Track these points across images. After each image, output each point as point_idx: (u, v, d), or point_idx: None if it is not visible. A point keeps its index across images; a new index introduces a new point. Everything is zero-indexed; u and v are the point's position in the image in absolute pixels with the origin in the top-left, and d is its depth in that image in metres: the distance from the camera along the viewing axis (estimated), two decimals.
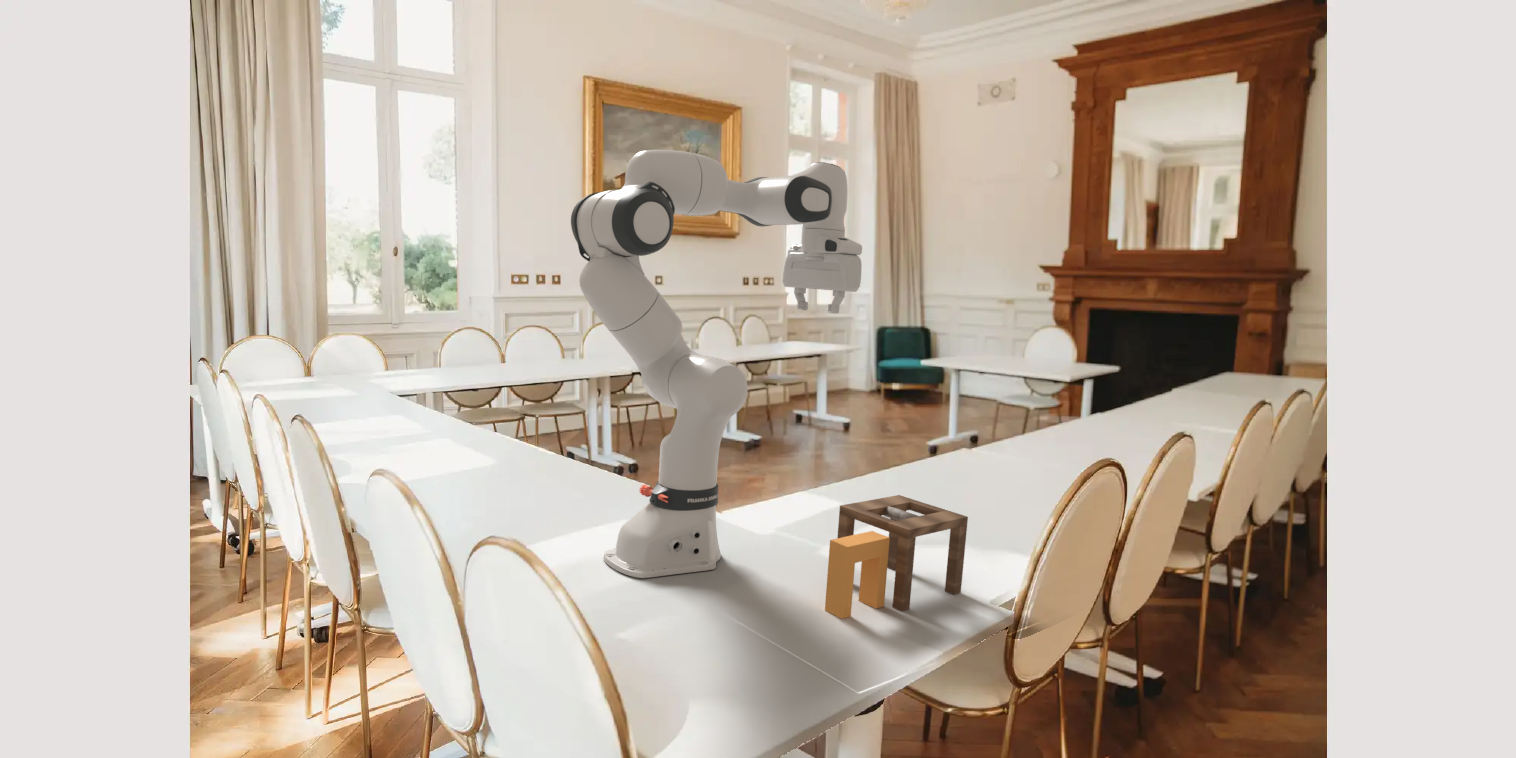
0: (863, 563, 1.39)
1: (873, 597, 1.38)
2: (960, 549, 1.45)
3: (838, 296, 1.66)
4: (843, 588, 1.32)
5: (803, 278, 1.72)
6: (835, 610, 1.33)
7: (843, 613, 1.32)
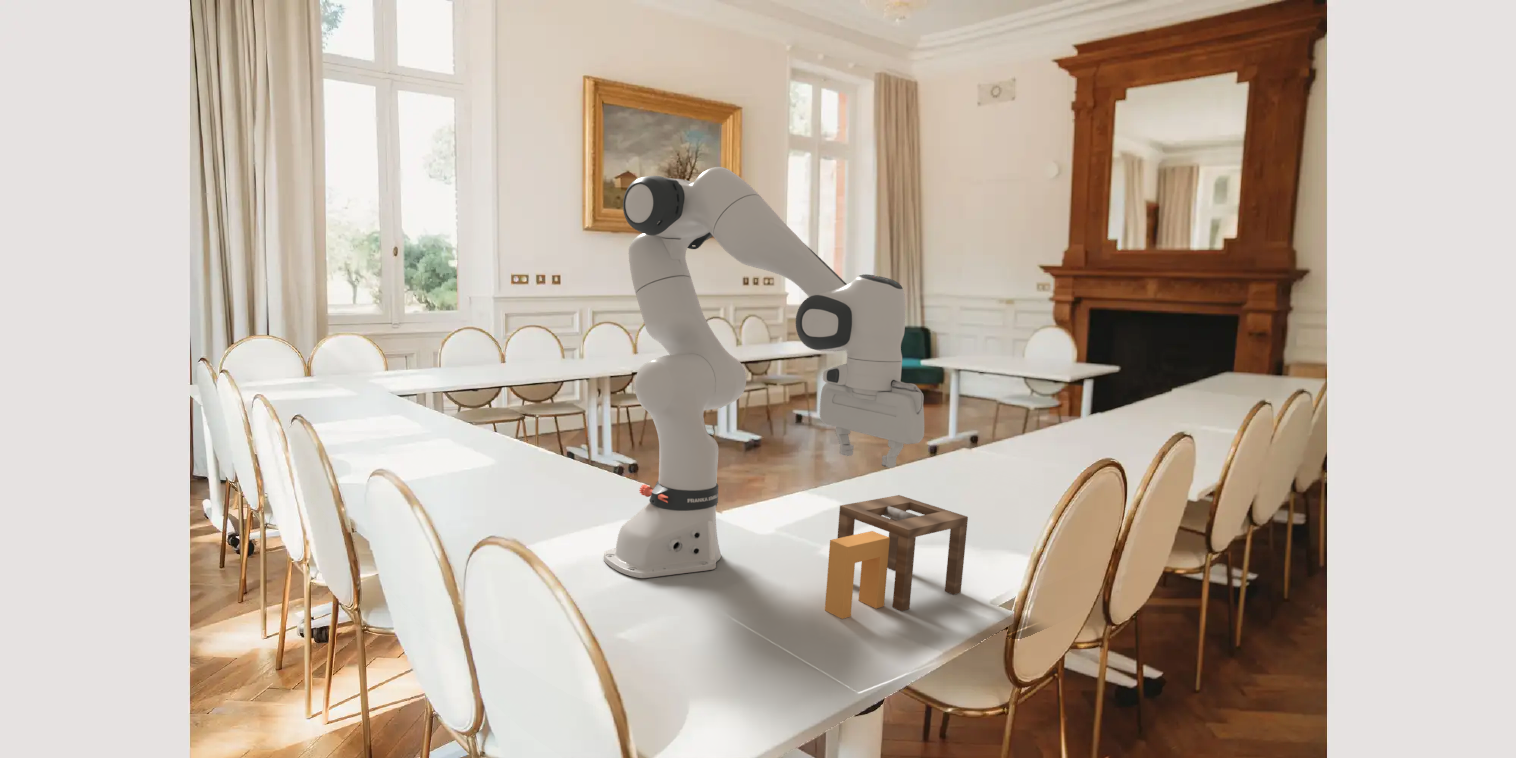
0: (863, 563, 1.39)
1: (873, 597, 1.38)
2: (960, 549, 1.45)
3: None
4: (843, 588, 1.32)
5: None
6: (835, 610, 1.33)
7: (843, 613, 1.32)
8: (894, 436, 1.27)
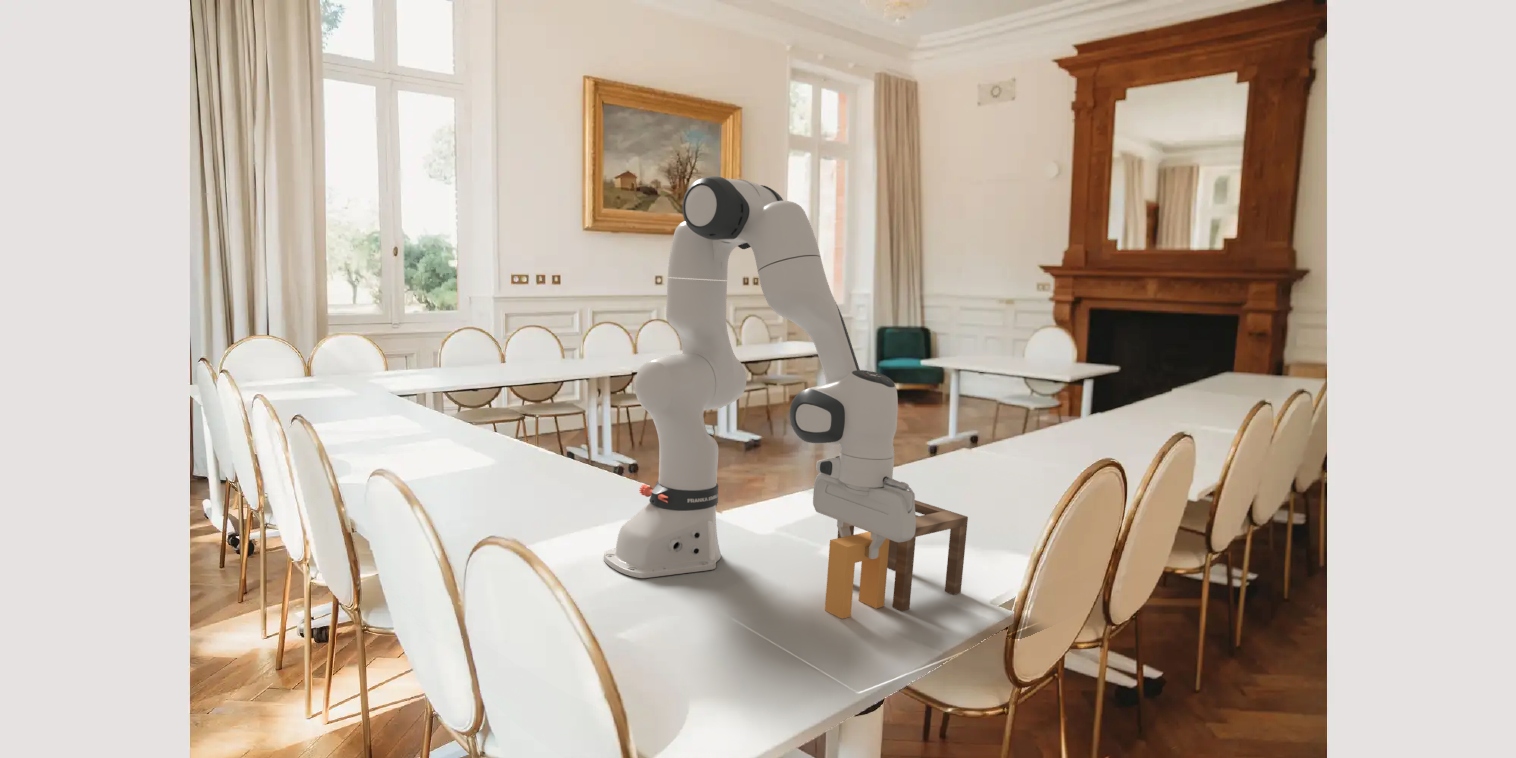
0: (863, 563, 1.39)
1: (873, 596, 1.38)
2: (960, 549, 1.45)
3: None
4: (843, 588, 1.32)
5: None
6: (835, 610, 1.33)
7: (843, 613, 1.32)
8: (886, 533, 1.29)
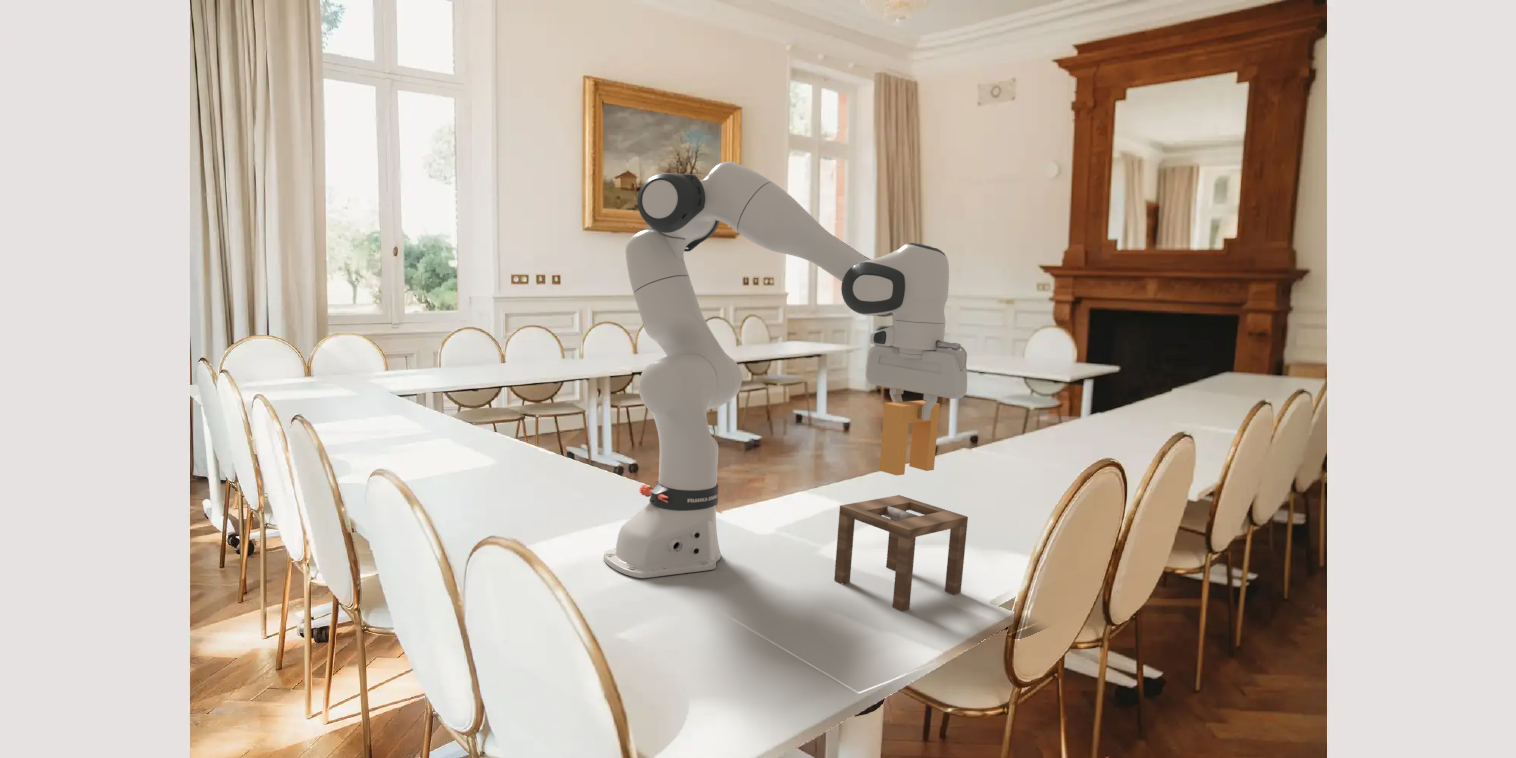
0: (914, 430, 1.48)
1: (924, 460, 1.46)
2: (960, 549, 1.45)
3: None
4: (898, 446, 1.40)
5: None
6: (890, 468, 1.42)
7: (897, 470, 1.41)
8: (939, 391, 1.37)
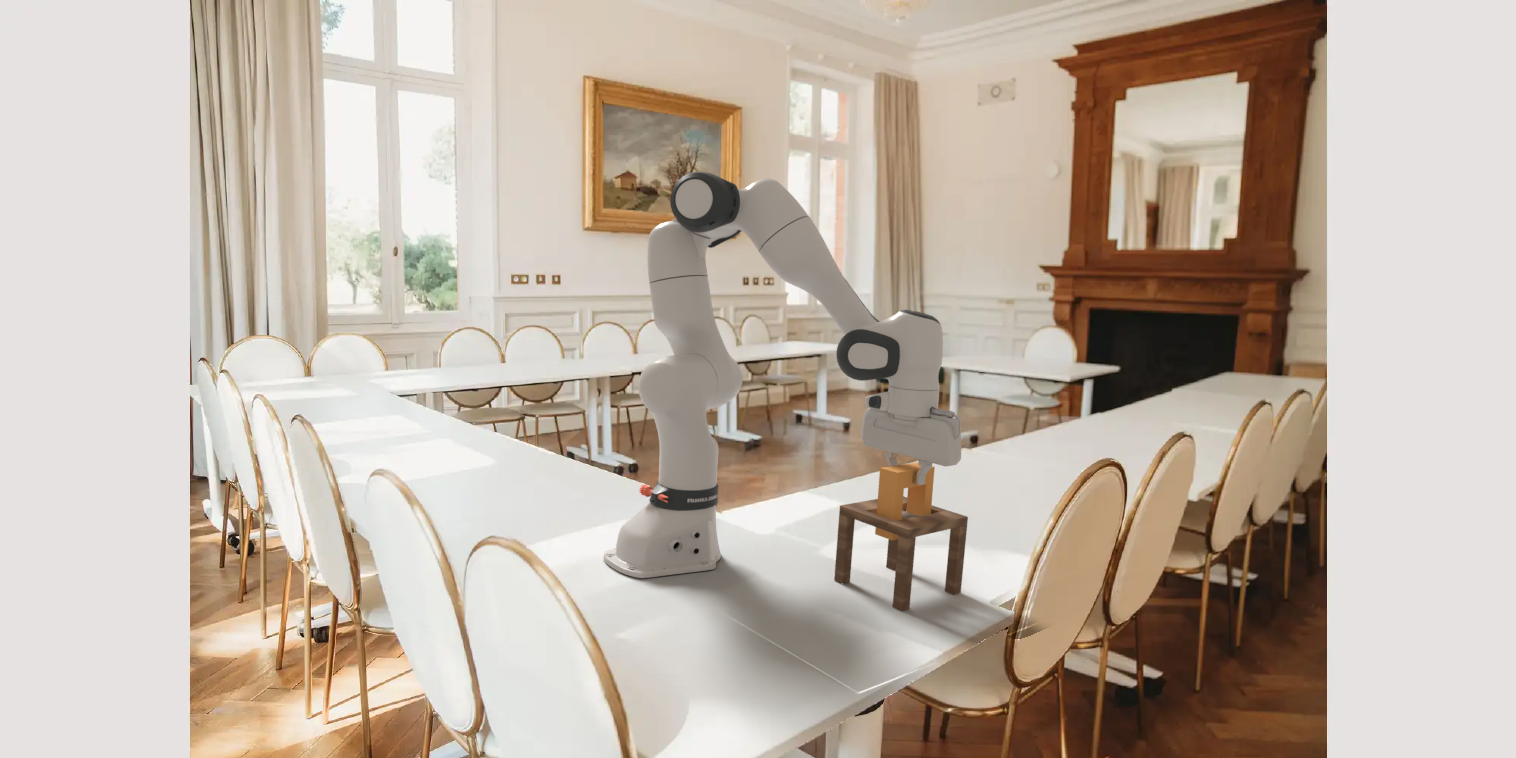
0: (909, 492, 1.49)
1: None
2: (960, 549, 1.45)
3: None
4: (893, 511, 1.42)
5: None
6: (885, 533, 1.43)
7: (893, 535, 1.42)
8: (933, 459, 1.39)
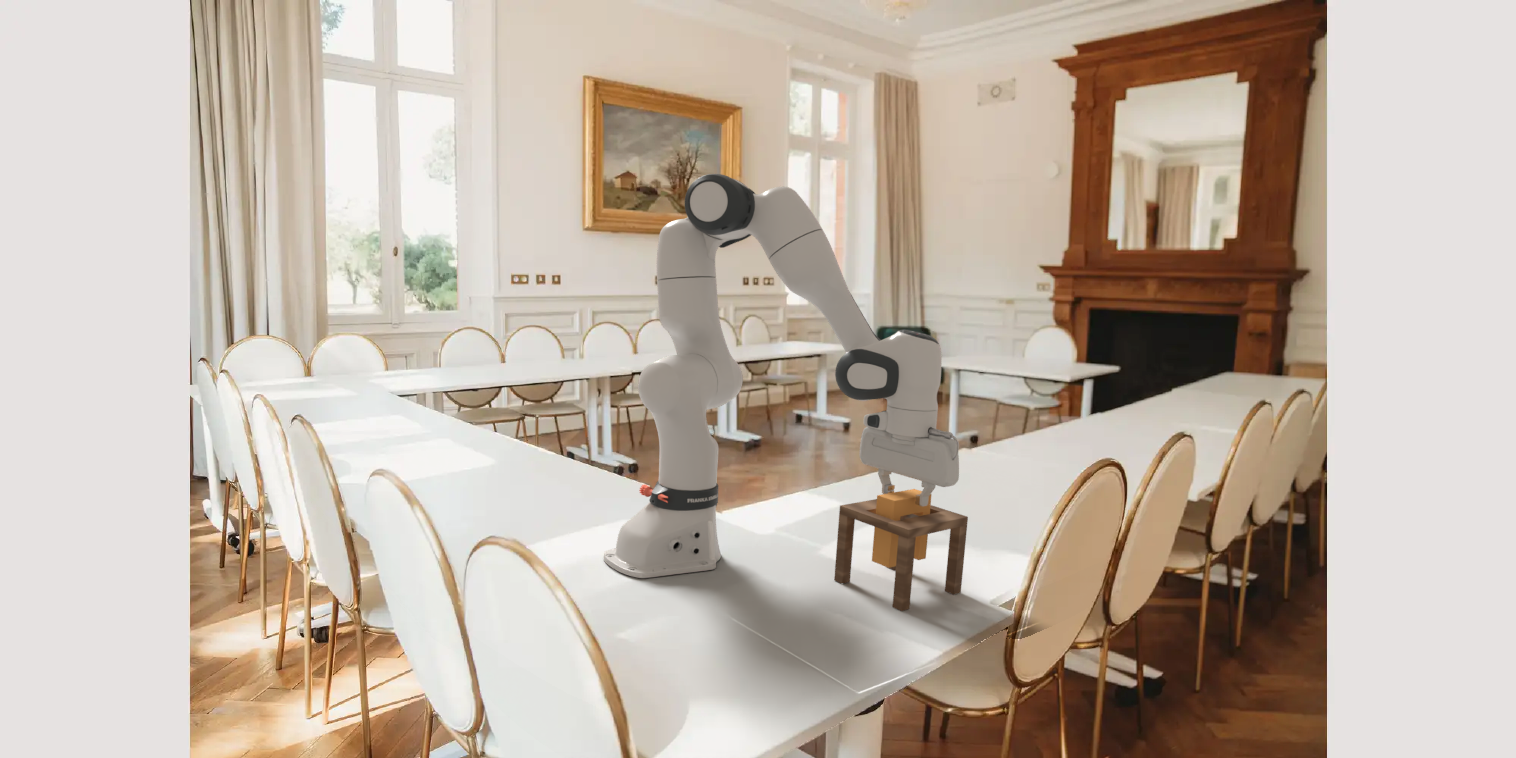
0: None
1: (916, 549, 1.48)
2: (960, 549, 1.45)
3: None
4: (890, 539, 1.42)
5: None
6: (882, 560, 1.44)
7: (889, 562, 1.43)
8: (931, 479, 1.39)
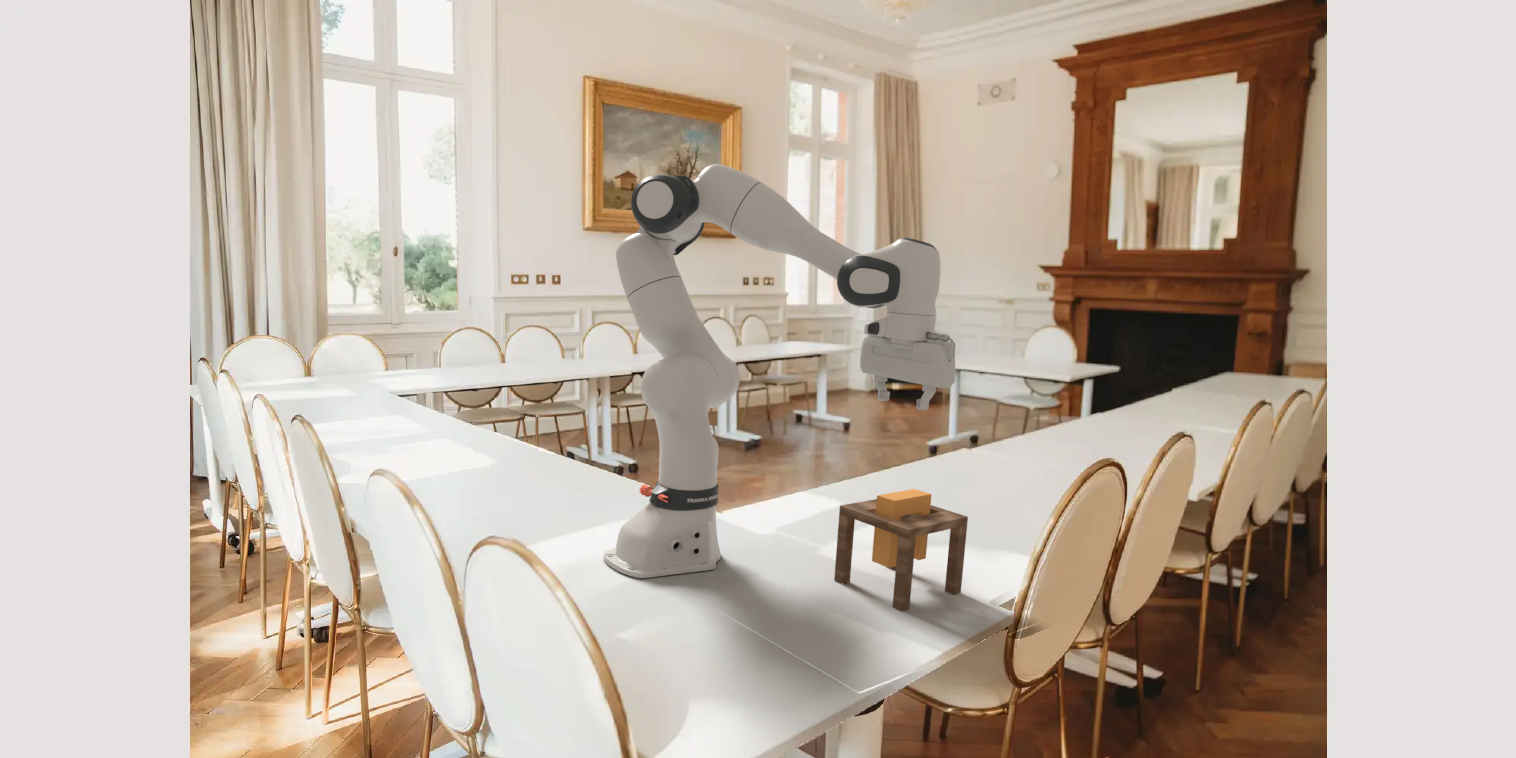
0: None
1: (916, 549, 1.48)
2: (960, 549, 1.45)
3: None
4: (890, 539, 1.42)
5: None
6: (882, 560, 1.44)
7: (890, 562, 1.43)
8: (928, 381, 1.43)
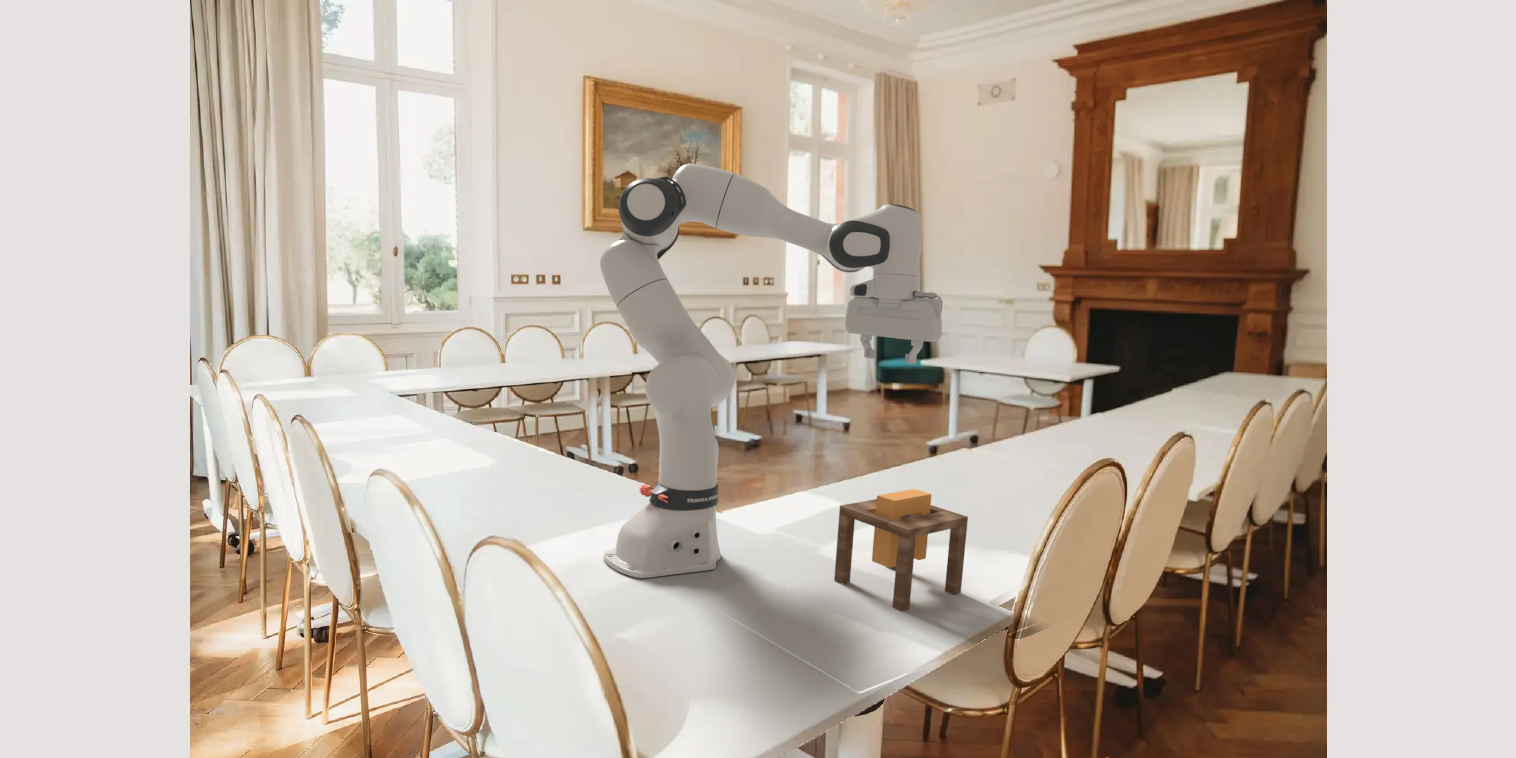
0: None
1: (916, 549, 1.48)
2: (960, 549, 1.45)
3: None
4: (890, 539, 1.42)
5: None
6: (882, 560, 1.44)
7: (890, 562, 1.43)
8: (918, 336, 1.55)
